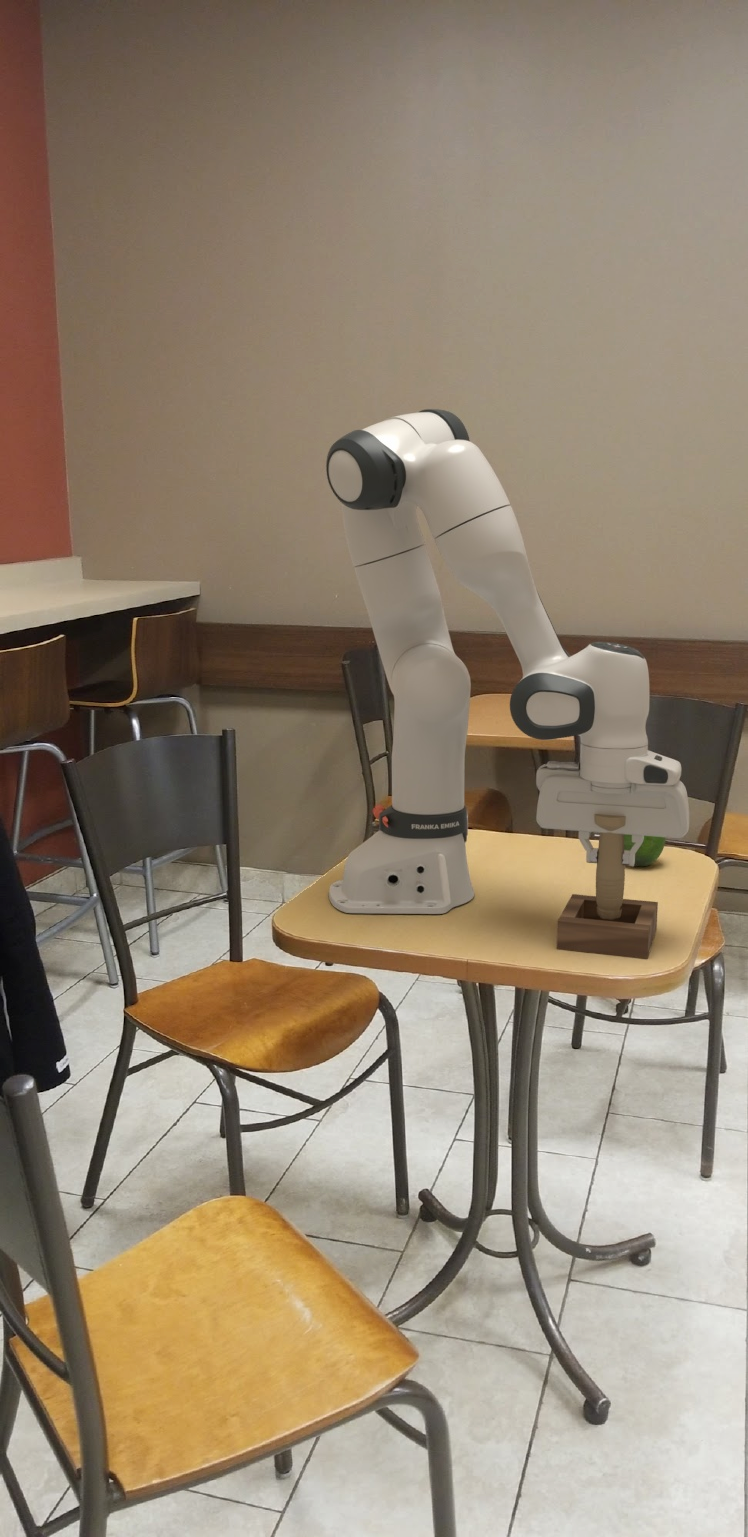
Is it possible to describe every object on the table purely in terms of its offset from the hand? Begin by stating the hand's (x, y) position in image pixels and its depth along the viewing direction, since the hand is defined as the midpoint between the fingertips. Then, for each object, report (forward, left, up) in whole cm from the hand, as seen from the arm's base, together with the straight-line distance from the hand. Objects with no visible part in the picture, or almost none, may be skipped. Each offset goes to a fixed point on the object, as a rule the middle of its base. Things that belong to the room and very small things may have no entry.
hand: (610, 863), depth 157 cm
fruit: (+17, +33, -11) cm, 39 cm away
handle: (0, 0, -8) cm, 8 cm away
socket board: (0, 0, -11) cm, 11 cm away
